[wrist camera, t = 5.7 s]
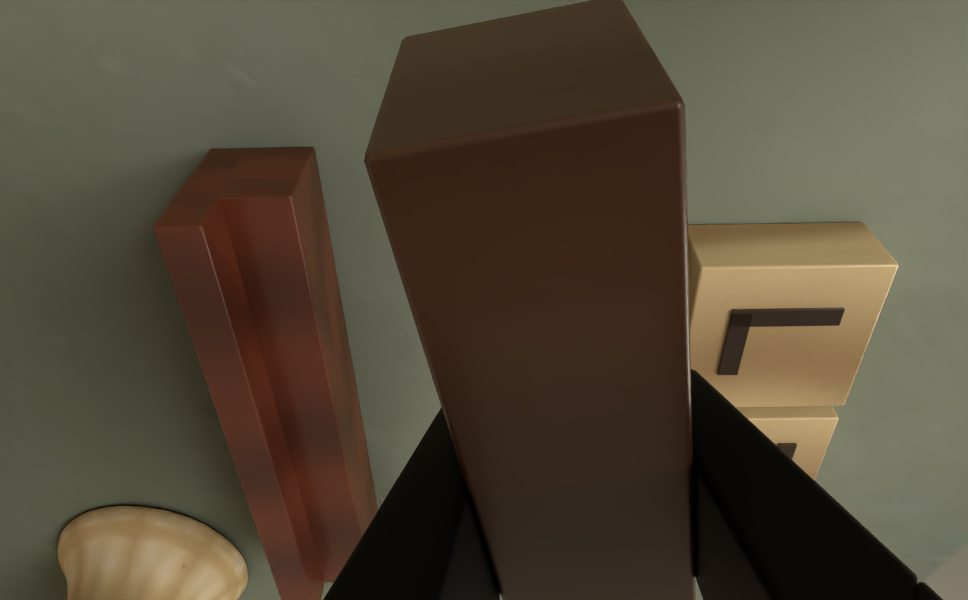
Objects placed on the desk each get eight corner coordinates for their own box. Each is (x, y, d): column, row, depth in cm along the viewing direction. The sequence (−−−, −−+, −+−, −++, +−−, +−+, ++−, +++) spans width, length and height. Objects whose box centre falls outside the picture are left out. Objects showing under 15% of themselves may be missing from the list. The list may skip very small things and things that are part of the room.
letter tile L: (681, 223, 22) (701, 269, 20) (863, 220, 21) (902, 266, 19) (658, 360, 25) (673, 411, 23) (816, 358, 25) (845, 409, 23)
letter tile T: (656, 370, 25) (671, 422, 23) (813, 368, 25) (841, 420, 23) (639, 473, 28) (651, 526, 26) (778, 471, 28) (800, 524, 26)
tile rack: (209, 147, 20) (150, 227, 17) (314, 145, 20) (277, 224, 17) (309, 518, 30) (286, 617, 27) (379, 518, 30) (365, 616, 27)
